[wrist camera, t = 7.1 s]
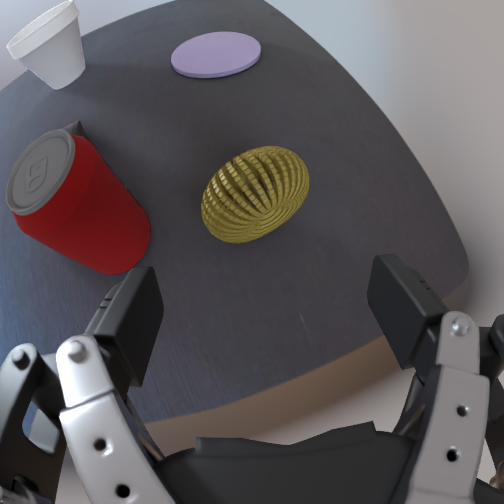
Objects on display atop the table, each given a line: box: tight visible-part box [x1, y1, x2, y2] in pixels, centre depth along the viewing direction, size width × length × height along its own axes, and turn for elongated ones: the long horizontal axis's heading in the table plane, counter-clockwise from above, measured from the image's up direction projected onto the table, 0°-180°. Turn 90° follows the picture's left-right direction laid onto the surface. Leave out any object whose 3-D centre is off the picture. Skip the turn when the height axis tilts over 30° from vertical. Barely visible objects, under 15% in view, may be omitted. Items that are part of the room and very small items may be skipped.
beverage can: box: [6, 129, 151, 275], centre depth 17 cm, size 7×7×12 cm
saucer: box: [171, 32, 261, 78], centre depth 30 cm, size 12×12×1 cm
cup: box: [7, 0, 86, 90], centre depth 25 cm, size 12×12×14 cm
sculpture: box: [201, 146, 310, 243], centre depth 19 cm, size 8×4×8 cm, turn 121°
